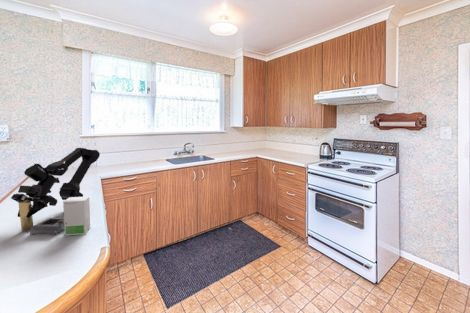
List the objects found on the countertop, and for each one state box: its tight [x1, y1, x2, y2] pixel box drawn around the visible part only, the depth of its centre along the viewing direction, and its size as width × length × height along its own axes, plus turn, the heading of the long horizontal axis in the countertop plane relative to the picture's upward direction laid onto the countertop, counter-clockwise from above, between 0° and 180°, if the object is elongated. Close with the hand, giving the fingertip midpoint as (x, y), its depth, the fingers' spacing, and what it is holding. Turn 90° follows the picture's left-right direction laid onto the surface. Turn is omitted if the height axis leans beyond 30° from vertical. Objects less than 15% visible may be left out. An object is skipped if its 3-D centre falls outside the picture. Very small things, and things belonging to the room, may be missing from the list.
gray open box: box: [29, 217, 65, 236], centre depth 101 cm, size 12×9×5 cm
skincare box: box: [62, 196, 91, 237], centre depth 99 cm, size 8×7×16 cm
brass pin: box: [18, 201, 34, 233], centre depth 100 cm, size 4×4×13 cm
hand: (22, 217), depth 99 cm, fingers closed on brass pin, 4 cm apart
